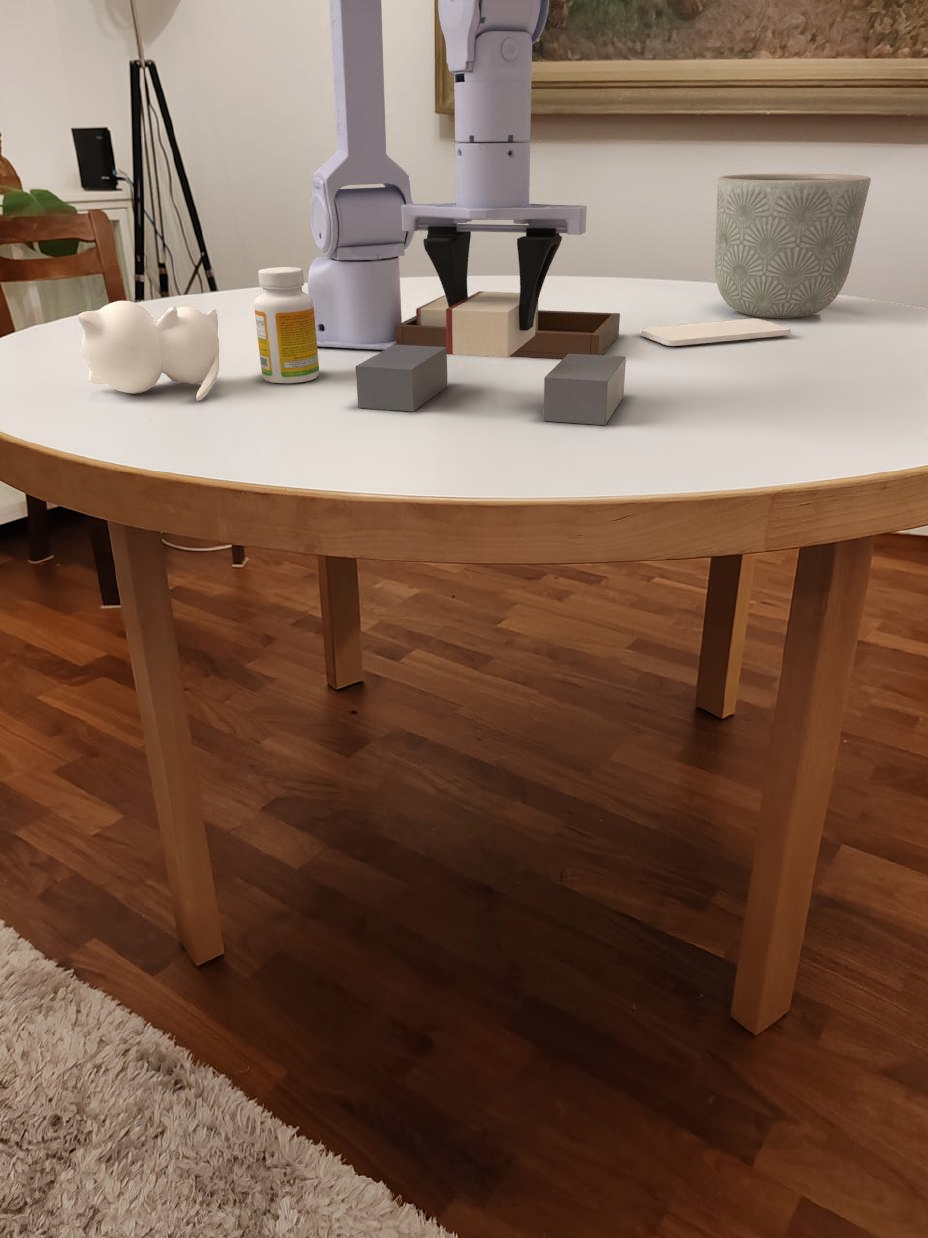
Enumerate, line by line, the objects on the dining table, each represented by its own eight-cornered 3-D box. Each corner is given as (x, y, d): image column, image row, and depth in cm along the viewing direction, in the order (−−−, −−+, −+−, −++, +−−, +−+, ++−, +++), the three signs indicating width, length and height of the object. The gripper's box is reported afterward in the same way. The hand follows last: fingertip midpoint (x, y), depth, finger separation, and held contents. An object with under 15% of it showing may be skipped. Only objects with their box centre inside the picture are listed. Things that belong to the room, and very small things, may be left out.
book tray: (396, 349, 101) (395, 325, 99) (435, 327, 111) (434, 305, 110) (598, 360, 95) (599, 334, 94) (618, 336, 105) (620, 313, 104)
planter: (735, 297, 128) (749, 172, 121) (865, 308, 119) (888, 174, 112) (682, 316, 116) (694, 178, 108) (822, 330, 107) (845, 181, 100)
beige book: (416, 342, 101) (415, 308, 100) (443, 327, 109) (443, 295, 107) (462, 344, 100) (461, 310, 98) (486, 328, 108) (486, 296, 106)
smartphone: (638, 328, 105) (756, 317, 109) (637, 335, 106) (755, 324, 109) (670, 340, 99) (794, 328, 103) (669, 348, 99) (793, 335, 103)
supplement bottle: (329, 372, 91) (321, 266, 87) (303, 386, 87) (293, 274, 82) (279, 369, 93) (269, 264, 89) (251, 382, 89) (238, 272, 84)
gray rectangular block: (357, 407, 80) (355, 365, 78) (396, 382, 88) (394, 344, 86) (413, 411, 79) (411, 369, 77) (447, 386, 86) (446, 346, 85)
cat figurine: (213, 274, 85) (70, 278, 81) (234, 359, 80) (83, 367, 76) (214, 348, 92) (83, 355, 88) (234, 430, 87) (95, 441, 83)
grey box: (543, 421, 76) (544, 376, 74) (566, 393, 83) (568, 353, 82) (605, 425, 74) (607, 380, 73) (623, 397, 82) (626, 356, 80)
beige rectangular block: (446, 354, 76) (445, 308, 74) (478, 332, 83) (478, 290, 82) (508, 357, 74) (508, 311, 73) (535, 335, 82) (536, 292, 80)
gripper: (383, 144, 70) (392, 331, 77) (576, 142, 67) (568, 340, 73) (416, 142, 76) (422, 316, 83) (594, 140, 72) (586, 323, 79)
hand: (492, 326), depth 78 cm, fingers closed on beige rectangular block, 5 cm apart
